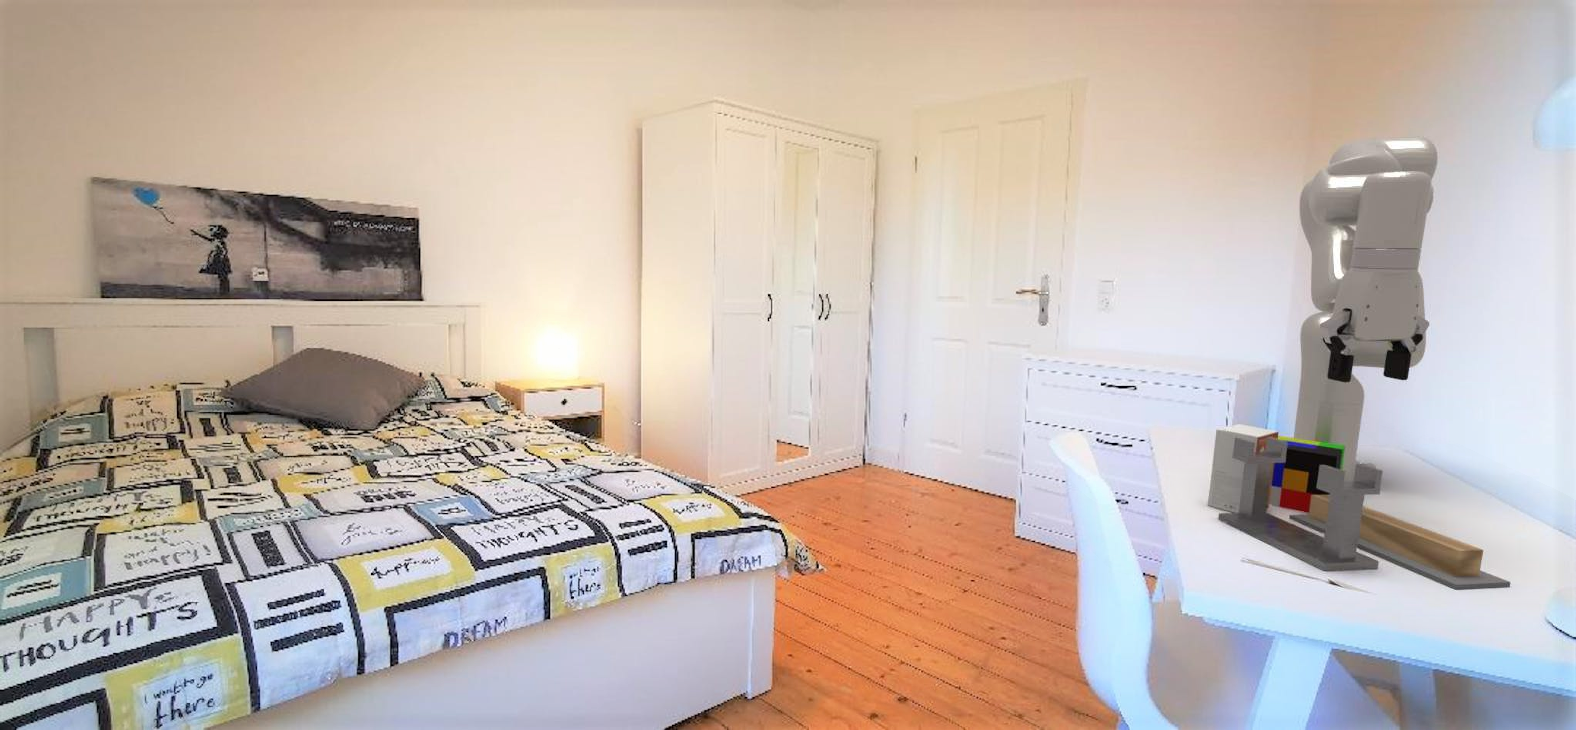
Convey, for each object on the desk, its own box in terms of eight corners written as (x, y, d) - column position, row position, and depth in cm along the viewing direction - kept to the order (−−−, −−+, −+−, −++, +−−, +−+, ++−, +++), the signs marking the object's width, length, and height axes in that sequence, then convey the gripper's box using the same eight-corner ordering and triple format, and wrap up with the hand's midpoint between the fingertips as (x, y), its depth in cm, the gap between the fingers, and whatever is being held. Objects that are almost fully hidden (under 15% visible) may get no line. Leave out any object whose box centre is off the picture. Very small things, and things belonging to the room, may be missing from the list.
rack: (1264, 518, 114) (1274, 436, 112) (1377, 568, 96) (1391, 471, 94) (1218, 519, 113) (1227, 436, 111) (1324, 571, 94) (1337, 472, 92)
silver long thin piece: (1426, 608, 83) (1236, 559, 96) (1425, 617, 83) (1235, 566, 96) (1428, 597, 86) (1243, 550, 99) (1427, 605, 86) (1242, 557, 99)
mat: (1333, 517, 115) (1334, 513, 115) (1509, 586, 91) (1510, 582, 91) (1289, 518, 114) (1289, 514, 114) (1455, 589, 90) (1455, 584, 90)
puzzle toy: (1255, 502, 122) (1262, 444, 121) (1267, 489, 129) (1274, 435, 128) (1328, 517, 115) (1337, 456, 114) (1337, 503, 123) (1345, 445, 121)
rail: (1328, 516, 114) (1331, 494, 113) (1479, 576, 92) (1483, 549, 92) (1308, 516, 113) (1311, 495, 113) (1455, 577, 92) (1459, 550, 91)
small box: (1248, 517, 114) (1258, 436, 113) (1206, 505, 119) (1215, 428, 118) (1270, 508, 119) (1279, 430, 117) (1228, 497, 124) (1237, 423, 122)
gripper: (1409, 260, 108) (1391, 372, 111) (1309, 260, 105) (1293, 376, 108) (1463, 262, 101) (1443, 382, 104) (1357, 263, 98) (1339, 387, 101)
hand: (1366, 379), depth 106 cm, fingers open, 9 cm apart
